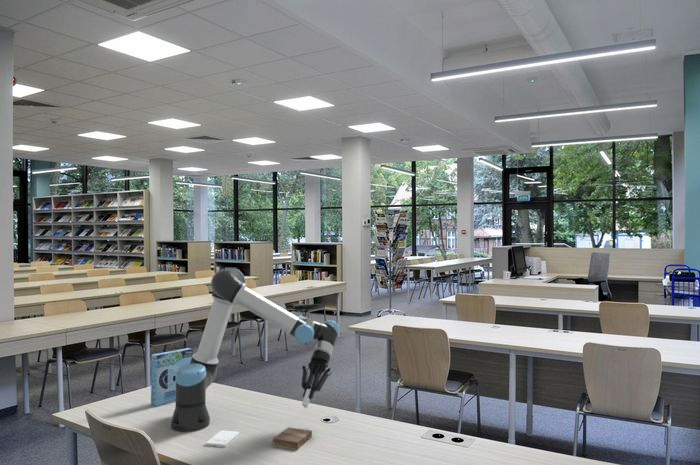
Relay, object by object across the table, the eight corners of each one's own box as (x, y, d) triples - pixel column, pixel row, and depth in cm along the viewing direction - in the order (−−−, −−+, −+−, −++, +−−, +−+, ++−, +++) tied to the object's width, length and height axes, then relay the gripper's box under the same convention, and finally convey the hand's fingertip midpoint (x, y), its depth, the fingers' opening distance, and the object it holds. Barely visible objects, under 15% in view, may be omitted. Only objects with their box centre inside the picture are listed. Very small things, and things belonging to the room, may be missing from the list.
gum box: (156, 407, 223) (156, 356, 224) (150, 404, 226) (150, 354, 227) (193, 396, 238) (194, 349, 239) (187, 394, 241) (187, 347, 242)
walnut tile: (311, 438, 188) (297, 450, 177) (288, 435, 192) (273, 446, 181) (311, 430, 188) (297, 442, 177) (288, 427, 192) (273, 438, 181)
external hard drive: (239, 436, 191) (225, 448, 179) (220, 434, 193) (204, 447, 181) (239, 431, 191) (225, 444, 179) (220, 430, 193) (204, 442, 181)
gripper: (338, 360, 210) (322, 412, 194) (310, 357, 214) (293, 408, 198) (333, 350, 205) (316, 402, 189) (305, 347, 209) (286, 399, 194)
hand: (304, 405), depth 194 cm, fingers closed
